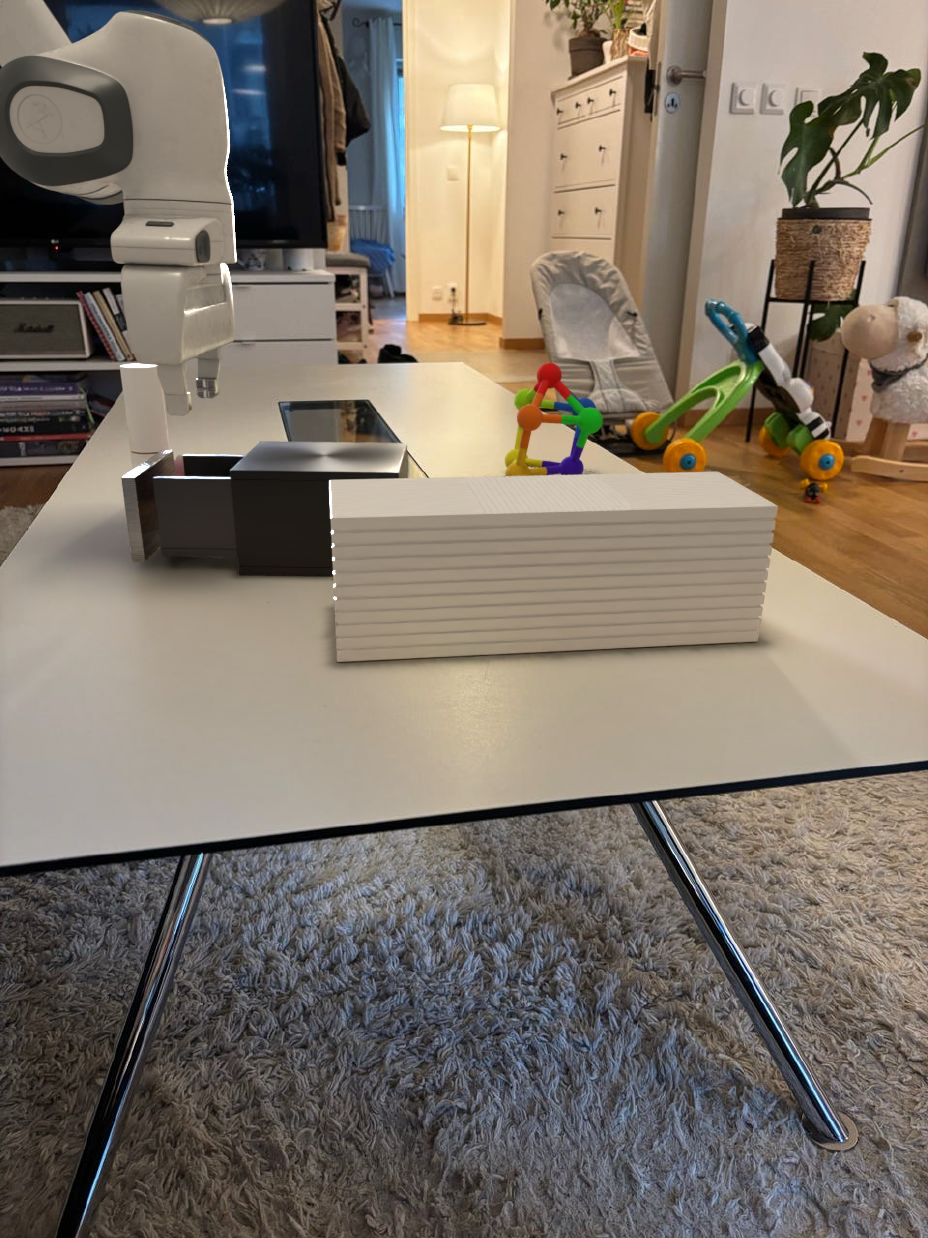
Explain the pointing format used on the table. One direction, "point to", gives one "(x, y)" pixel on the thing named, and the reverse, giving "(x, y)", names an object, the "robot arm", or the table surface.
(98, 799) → the table surface
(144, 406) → the tube
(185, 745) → the table surface
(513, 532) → the stack of papers
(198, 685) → the table surface
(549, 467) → the educational toy
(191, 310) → the robot arm
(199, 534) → the drawer
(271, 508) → the brushed black cube
